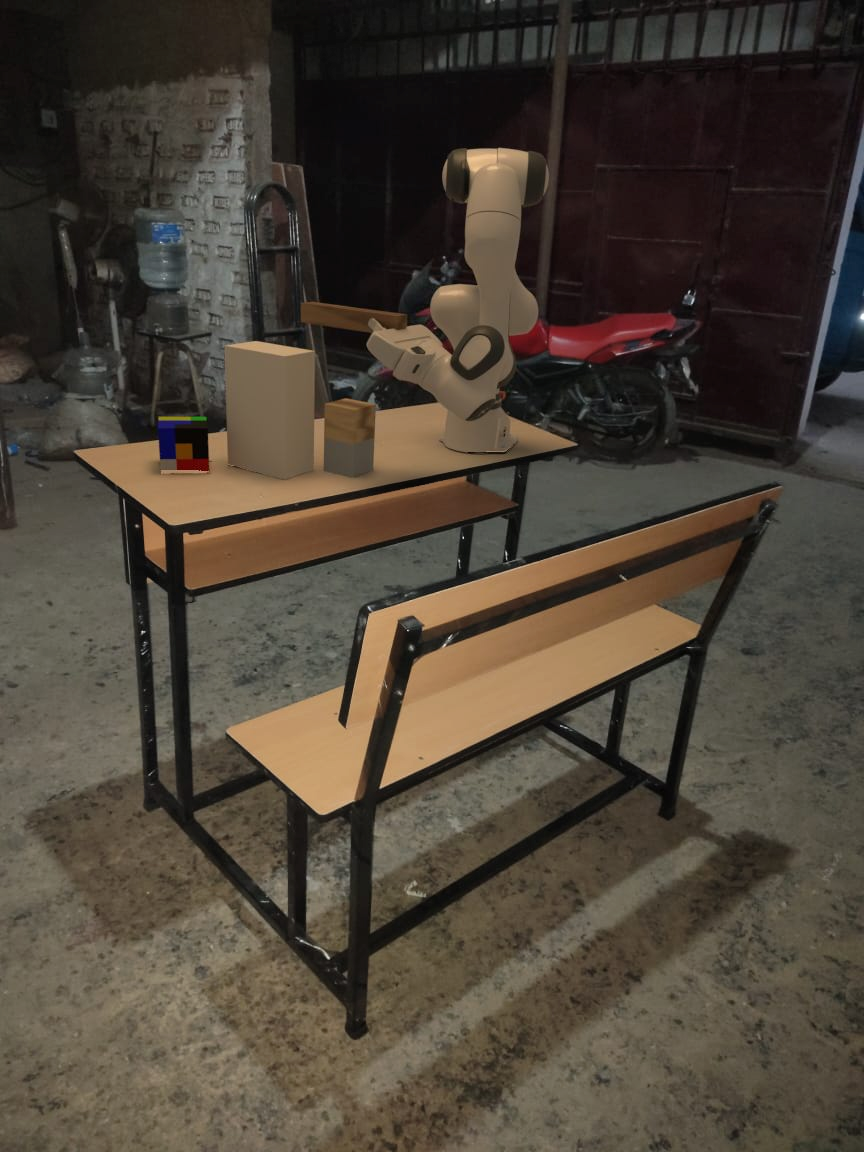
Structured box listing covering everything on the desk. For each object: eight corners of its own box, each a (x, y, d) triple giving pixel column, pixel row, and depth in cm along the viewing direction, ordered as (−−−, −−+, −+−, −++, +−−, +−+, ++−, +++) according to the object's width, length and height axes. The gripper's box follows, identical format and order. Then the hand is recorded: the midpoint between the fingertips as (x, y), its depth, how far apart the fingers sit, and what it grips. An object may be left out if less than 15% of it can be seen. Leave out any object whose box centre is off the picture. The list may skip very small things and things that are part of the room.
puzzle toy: (160, 474, 181) (157, 428, 177) (161, 461, 190) (158, 416, 186) (209, 473, 184) (207, 428, 180) (207, 460, 193) (206, 416, 189)
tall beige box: (257, 456, 198) (255, 341, 188) (313, 469, 191) (315, 351, 181) (228, 465, 190) (224, 345, 180) (285, 479, 183) (285, 356, 173)
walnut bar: (312, 321, 187) (312, 301, 185) (406, 334, 177) (407, 314, 175) (300, 322, 184) (300, 302, 182) (396, 336, 174) (397, 315, 172)
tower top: (344, 431, 195) (345, 398, 192) (374, 437, 191) (375, 404, 188) (324, 437, 188) (324, 403, 185) (354, 444, 185) (355, 410, 182)
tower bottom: (344, 463, 198) (344, 431, 195) (373, 469, 194) (374, 437, 191) (323, 470, 191) (324, 437, 188) (353, 477, 188) (354, 444, 185)
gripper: (457, 344, 181) (410, 304, 183) (408, 354, 164) (357, 309, 167) (442, 368, 185) (397, 328, 187) (393, 380, 168) (343, 336, 170)
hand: (378, 319), depth 177 cm, fingers closed on walnut bar, 4 cm apart
